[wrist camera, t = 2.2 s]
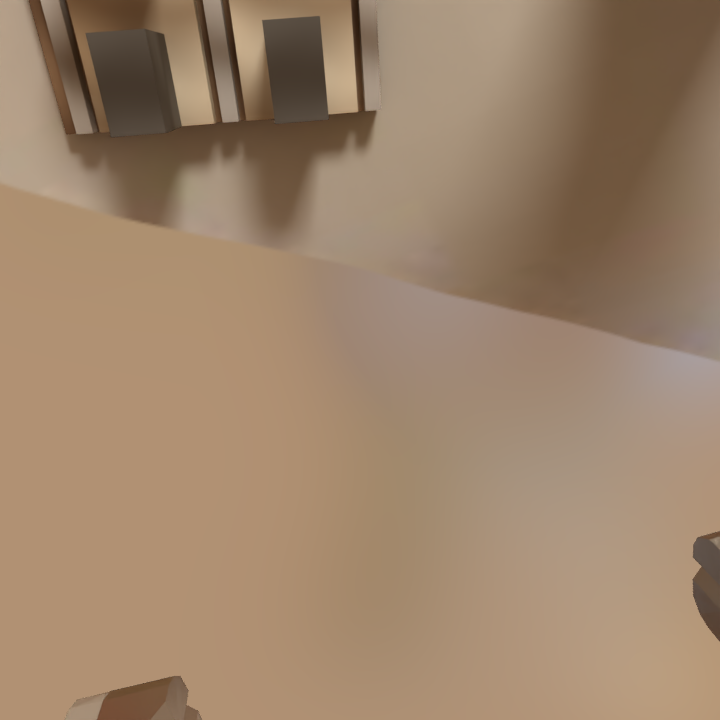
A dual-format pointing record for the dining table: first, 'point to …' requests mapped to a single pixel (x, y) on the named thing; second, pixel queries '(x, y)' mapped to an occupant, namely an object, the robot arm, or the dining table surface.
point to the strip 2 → (295, 58)
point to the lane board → (219, 54)
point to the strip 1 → (143, 64)
